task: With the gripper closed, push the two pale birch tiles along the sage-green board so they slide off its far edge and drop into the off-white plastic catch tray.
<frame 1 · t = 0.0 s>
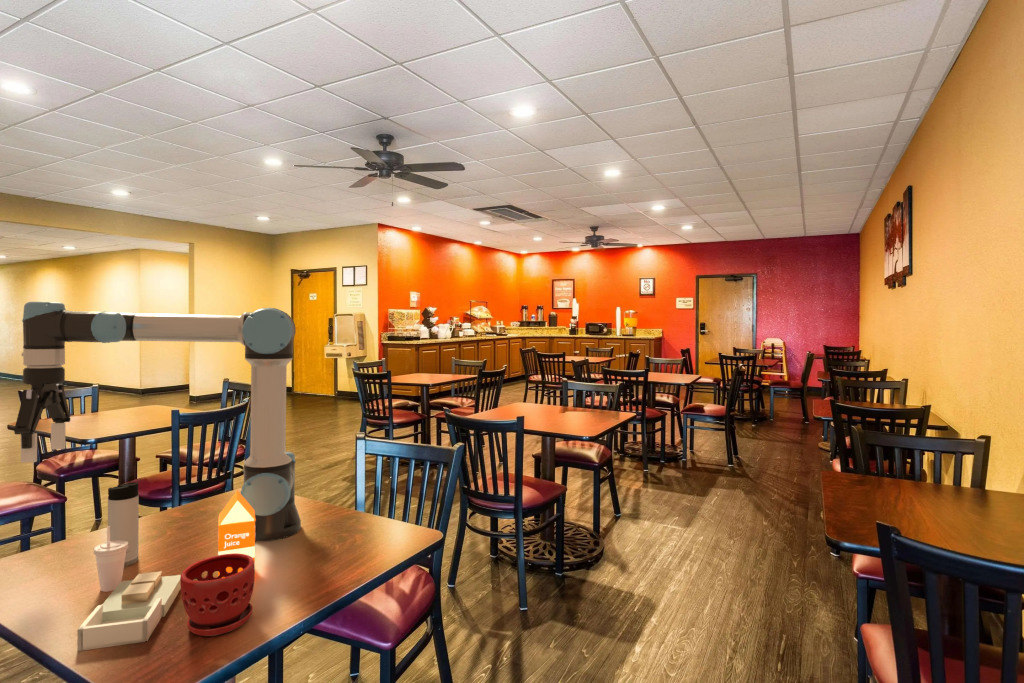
hand: (44, 455, 129), 28 cm above the table, fingers open, 13 cm apart
plant pot: (218, 625, 109), on the table
tile rear: (146, 585, 119), point 2 cm above the table, touching board
board: (142, 603, 116), on the table
travel mug: (123, 563, 135), on the table
orange juice: (236, 578, 129), on the table
tile front: (138, 598, 113), point 2 cm above the table, touching board
smoothie: (111, 588, 122), on the table
catch tray: (121, 633, 105), on the table
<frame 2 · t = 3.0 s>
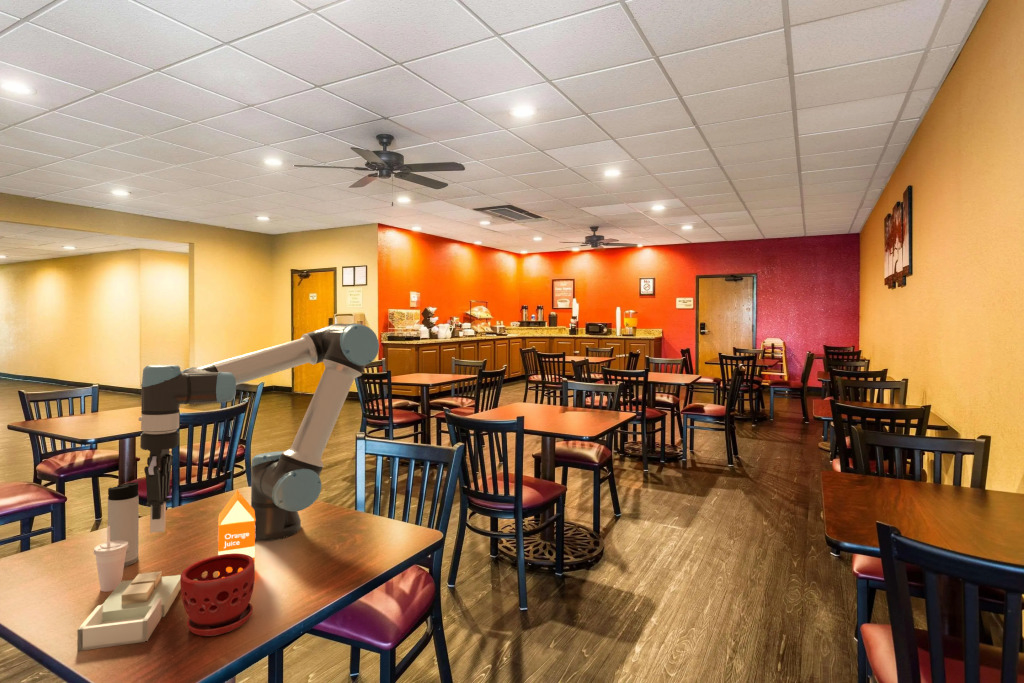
hand: (157, 531, 127), 11 cm above the table, fingers closed
nothing on the table moved.
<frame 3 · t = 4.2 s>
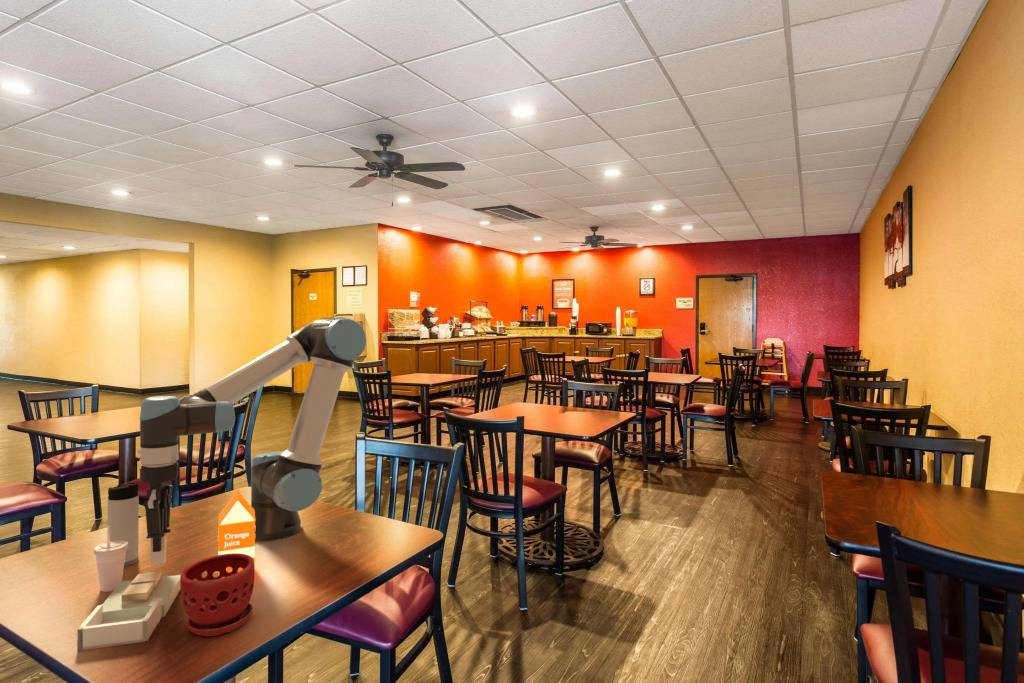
hand: (158, 563, 127), 4 cm above the table, fingers closed
nothing on the table moved.
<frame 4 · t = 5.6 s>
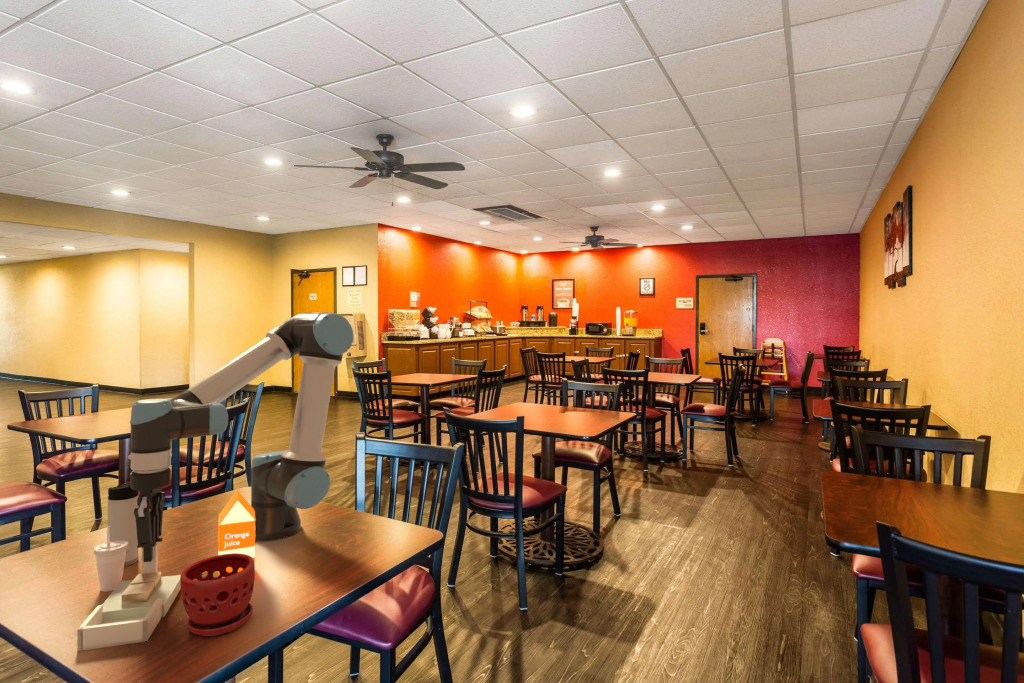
hand: (149, 573, 121), 4 cm above the table, fingers closed
tile rear: (146, 586, 118), point 3 cm above the table, touching board, gripper
everything else where it was.
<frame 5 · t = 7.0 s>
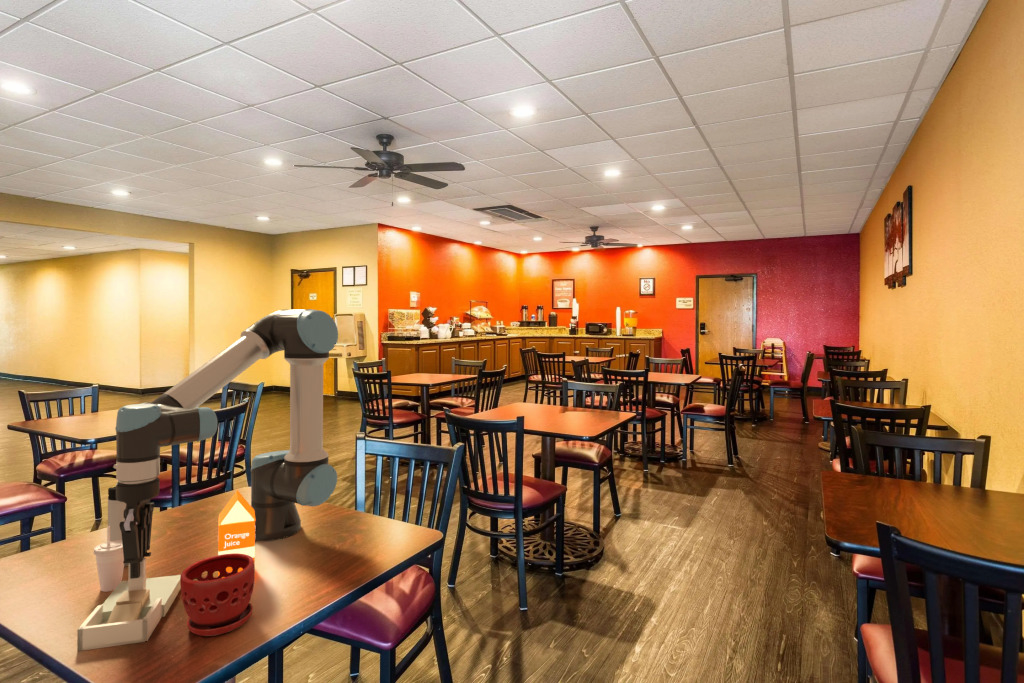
hand: (137, 590, 113), 4 cm above the table, fingers closed
tile rear: (133, 604, 111), point 3 cm above the table, touching board, gripper
tile front: (125, 621, 106), point 1 cm above the table, tilted 24°, touching catch tray
everything else where it was.
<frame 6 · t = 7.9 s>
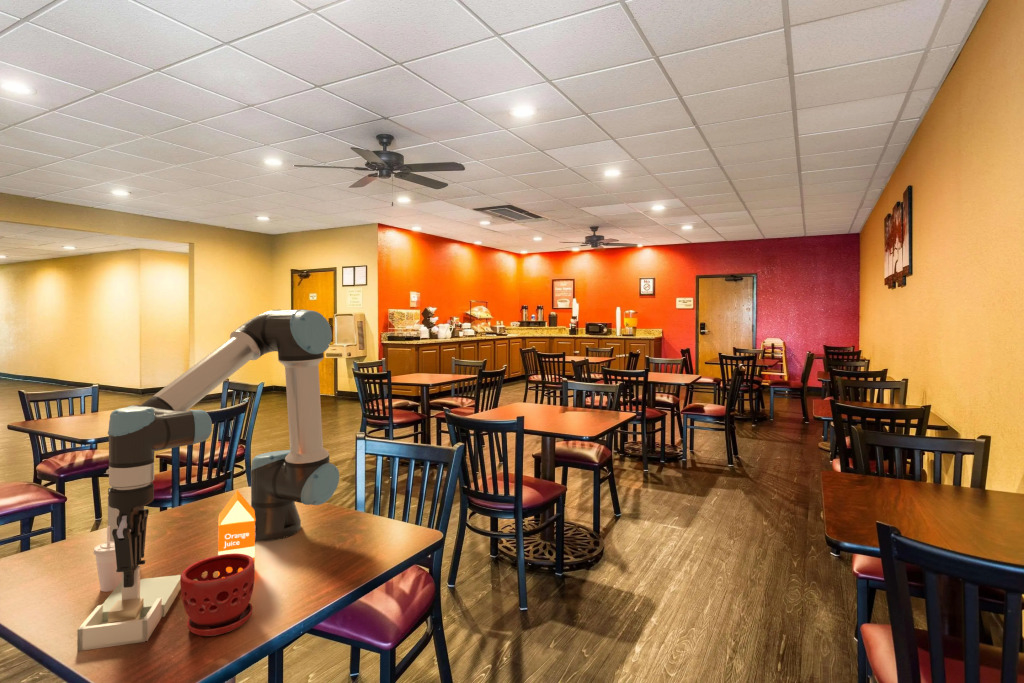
hand: (130, 599, 110), 4 cm above the table, fingers closed
tile rear: (126, 614, 107), point 2 cm above the table, touching tile front
tile front: (122, 629, 105), resting on catch tray, touching tile rear
everything else where it was.
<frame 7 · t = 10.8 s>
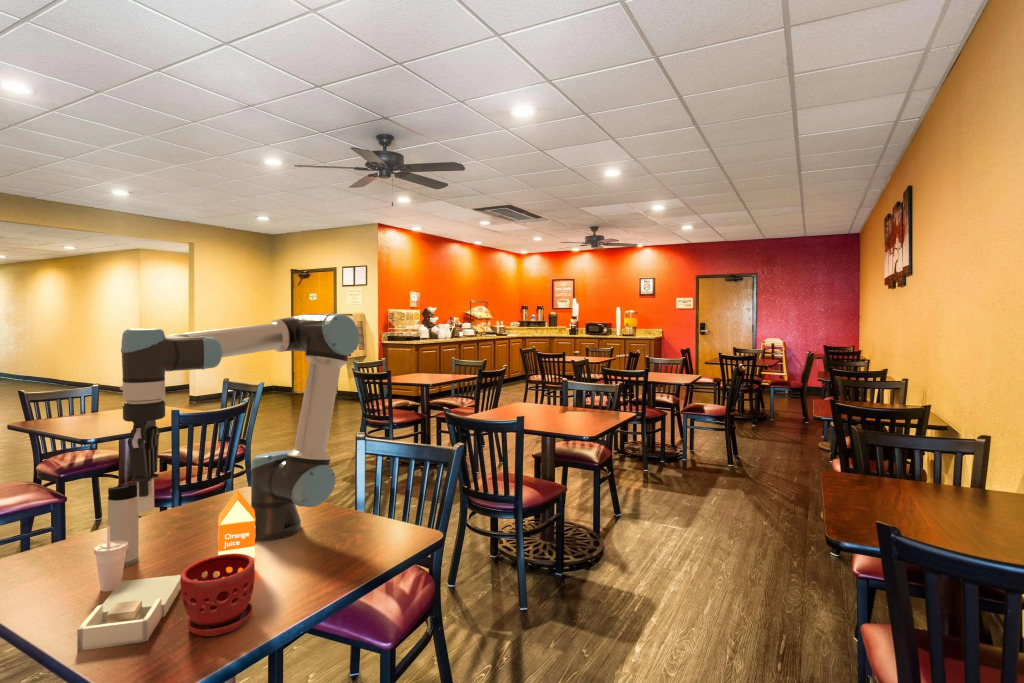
hand: (146, 509, 116), 20 cm above the table, fingers closed
nothing on the table moved.
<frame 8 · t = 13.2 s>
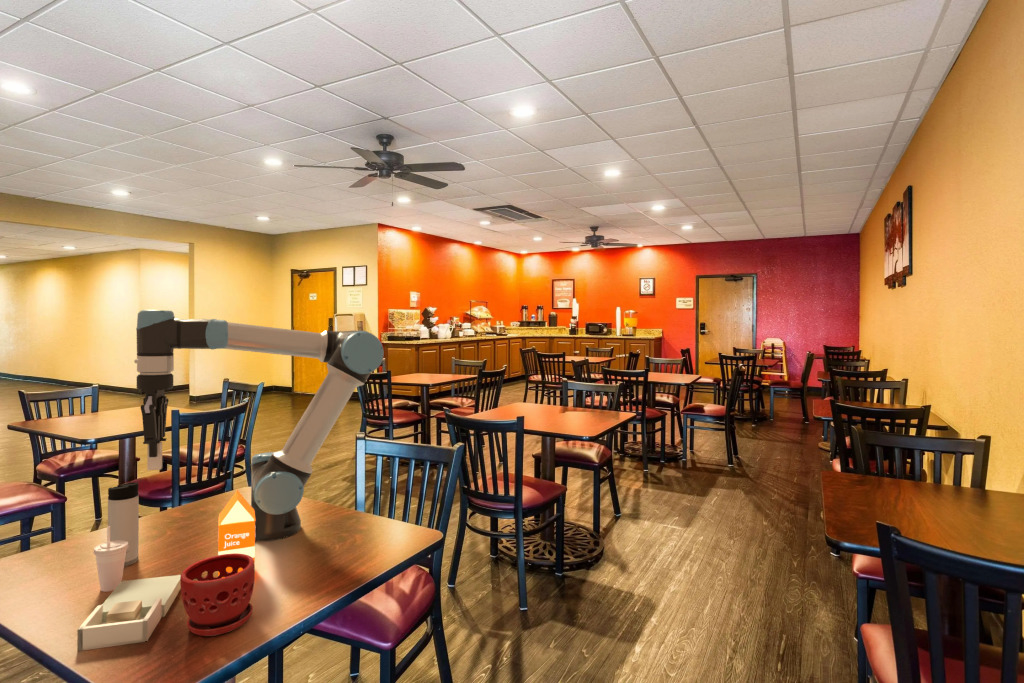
hand: (154, 469, 132), 24 cm above the table, fingers closed
nothing on the table moved.
at the end: tile front inside the target area (1.6 cm from its centre), point 0.5 cm above the table; tile rear inside the target area (2.5 cm from its centre), point 2.5 cm above the table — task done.
